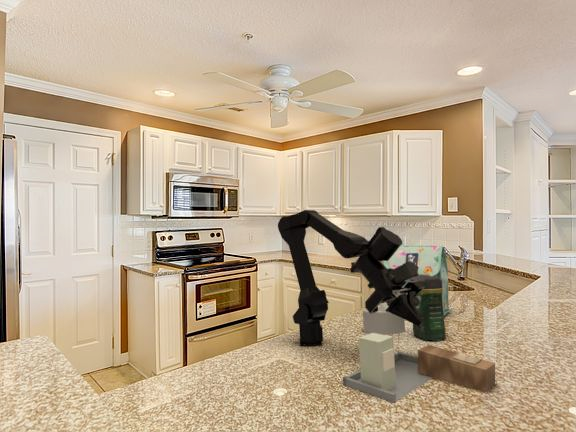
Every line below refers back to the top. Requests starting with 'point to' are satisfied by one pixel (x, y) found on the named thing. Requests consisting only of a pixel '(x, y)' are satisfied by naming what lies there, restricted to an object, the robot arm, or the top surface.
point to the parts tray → (405, 379)
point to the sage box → (377, 360)
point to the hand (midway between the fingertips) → (420, 324)
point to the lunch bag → (424, 265)
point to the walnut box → (456, 368)
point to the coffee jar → (430, 309)
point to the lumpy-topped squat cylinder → (382, 322)
